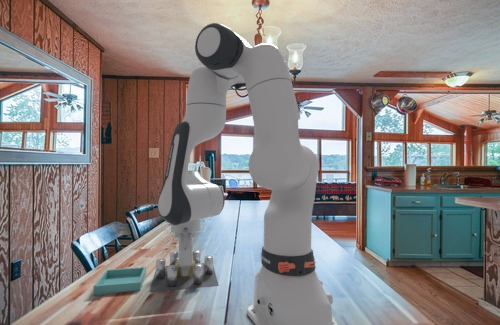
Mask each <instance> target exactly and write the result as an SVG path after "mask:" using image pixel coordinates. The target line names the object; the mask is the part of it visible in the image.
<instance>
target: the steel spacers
mask: <svg viewBox="0 0 500 325" xmlns="http://www.w3.org/2000/svg"><path fill="white" fill-rule="evenodd" d="M178 254H179V251H171V252H169V265H167V266H168V267H167V287H175V286H177V266H176V265H175V263H176V262H177V261H178ZM192 260H194V261H195V264H194V265H193V284H194V285H200V284H202V283H203V264H201V250H198V249H196V250H193V255H192ZM166 262H167V261H166V259H165V258H158V259H156V261H155V271H156V279H163V278H165V266H166ZM203 263H204V274H205V275H212V274H213V267H214V256H213V255H206V256H204V262H203Z"/></svg>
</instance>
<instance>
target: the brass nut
mask: <svg viewBox="0 0 500 325" xmlns="http://www.w3.org/2000/svg"><path fill="white" fill-rule="evenodd" d="M194 264H195V261H194V260H192V265H191V266H189V269H188V276H182V267H179V265H178V261H177V262H176V263H175V265H176V266H177V278H179V279H189V278H191V277H193V265H194Z"/></svg>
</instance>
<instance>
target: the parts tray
mask: <svg viewBox="0 0 500 325" xmlns="http://www.w3.org/2000/svg"><path fill="white" fill-rule="evenodd" d="M146 275H147V267H146V266H141V267H140V266H139V267H128V268H115V269H106V270H105V271H104V272H103V273H102V275H101V276H100V277H99V279H98V280H97V281H96V283H95V284H94V285H93V297H99V296H100V297H101V296H104V295H106V294H108V295H109V294H118V293H128V292H139V291H141V289H142V287H143V283H144V281H145V278H146Z"/></svg>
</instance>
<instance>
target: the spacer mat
mask: <svg viewBox="0 0 500 325" xmlns="http://www.w3.org/2000/svg"><path fill="white" fill-rule="evenodd" d="M200 263H201V262H200ZM201 264H203V283H202V284H200V285H194V284H193V277H191V278H189V279H179V278H177V286H175V287H167V267H168V266H169V265H165V278H163V279H156V270H155V271H154V275H153V278H152V281H151V284H150V285H151V286H150V288H149V293H154V292H166V291H177V290H178V291H179V290H188V289H196V288H197V289H199V288H200V289H201V288H209V287H218V286H220V285H219V282H218V278H217V275H216V271H215V268H214V266H213V274H212V275H205V274H204V262H203V263H201Z"/></svg>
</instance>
